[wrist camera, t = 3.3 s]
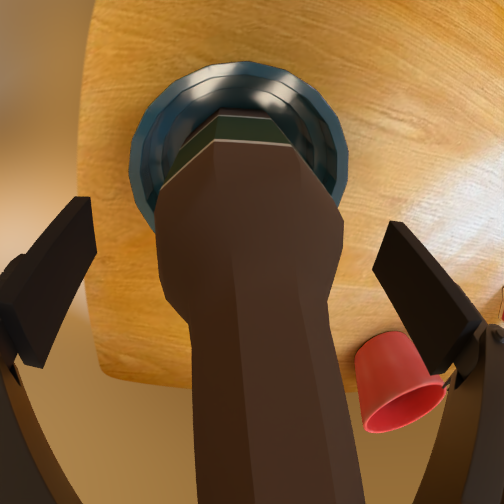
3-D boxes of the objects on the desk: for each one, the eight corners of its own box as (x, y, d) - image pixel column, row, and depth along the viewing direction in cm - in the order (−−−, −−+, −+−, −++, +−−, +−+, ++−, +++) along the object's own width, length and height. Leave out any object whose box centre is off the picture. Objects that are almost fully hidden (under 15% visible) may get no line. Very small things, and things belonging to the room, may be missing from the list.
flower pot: (431, 321, 36) (464, 378, 28) (393, 373, 42) (415, 427, 34) (365, 319, 34) (394, 389, 26) (331, 375, 40) (348, 438, 32)
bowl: (116, 115, 21) (90, 129, 16) (288, 36, 18) (305, 29, 14) (197, 254, 28) (192, 291, 24) (346, 195, 26) (368, 224, 22)
